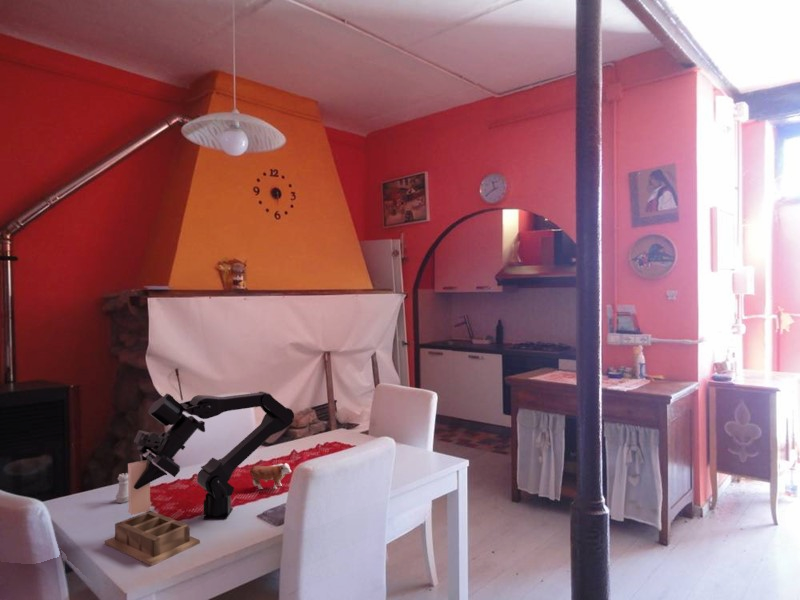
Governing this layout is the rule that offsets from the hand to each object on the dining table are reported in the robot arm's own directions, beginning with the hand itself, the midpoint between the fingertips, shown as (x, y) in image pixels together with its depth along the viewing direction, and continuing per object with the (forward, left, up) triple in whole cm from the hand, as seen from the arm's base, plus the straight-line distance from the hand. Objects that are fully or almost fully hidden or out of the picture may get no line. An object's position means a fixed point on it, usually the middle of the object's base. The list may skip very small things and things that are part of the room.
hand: (133, 486), depth 134 cm
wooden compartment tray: (-6, +3, -13) cm, 15 cm away
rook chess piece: (+15, -26, -14) cm, 33 cm away
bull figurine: (-28, -34, -14) cm, 46 cm away
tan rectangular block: (-1, -1, -7) cm, 7 cm away
